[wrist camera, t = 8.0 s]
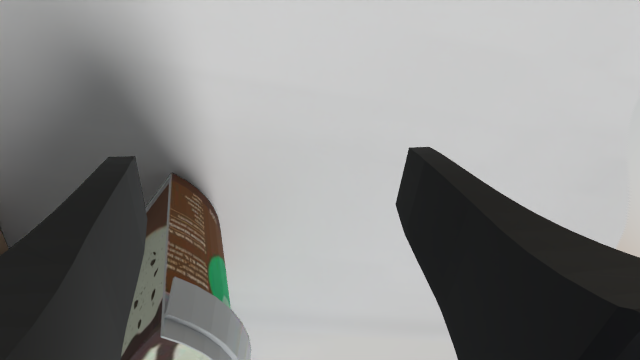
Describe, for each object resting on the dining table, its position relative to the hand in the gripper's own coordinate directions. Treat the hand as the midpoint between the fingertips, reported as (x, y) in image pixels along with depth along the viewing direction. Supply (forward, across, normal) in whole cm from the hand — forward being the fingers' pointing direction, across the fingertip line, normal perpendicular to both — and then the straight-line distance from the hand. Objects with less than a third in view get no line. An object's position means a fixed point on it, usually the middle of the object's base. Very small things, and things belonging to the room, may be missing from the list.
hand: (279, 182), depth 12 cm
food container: (+10, +4, +12) cm, 16 cm away
